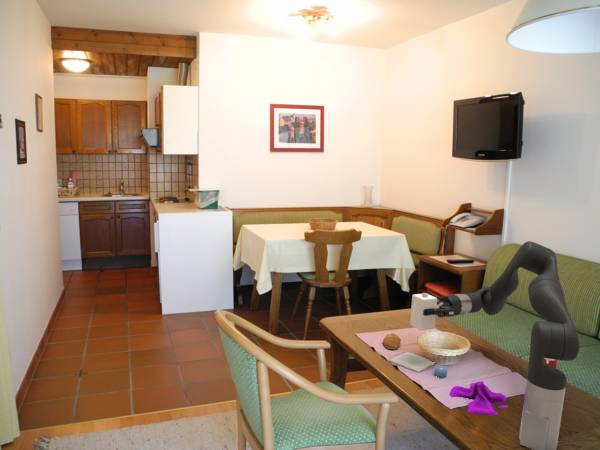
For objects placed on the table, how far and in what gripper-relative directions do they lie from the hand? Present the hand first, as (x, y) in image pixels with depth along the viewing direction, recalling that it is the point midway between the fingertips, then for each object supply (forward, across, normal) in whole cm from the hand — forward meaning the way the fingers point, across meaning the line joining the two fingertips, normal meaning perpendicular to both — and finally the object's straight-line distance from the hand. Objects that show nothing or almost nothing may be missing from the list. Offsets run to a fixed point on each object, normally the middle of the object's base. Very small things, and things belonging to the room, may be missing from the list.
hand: (418, 309), depth 180 cm
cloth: (-6, +28, +21) cm, 35 cm away
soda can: (-29, +31, +21) cm, 47 cm away
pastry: (-3, -17, +21) cm, 27 cm away
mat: (-1, -1, +20) cm, 20 cm away
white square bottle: (-2, 0, +6) cm, 7 cm away
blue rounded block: (-3, +10, +20) cm, 23 cm away
